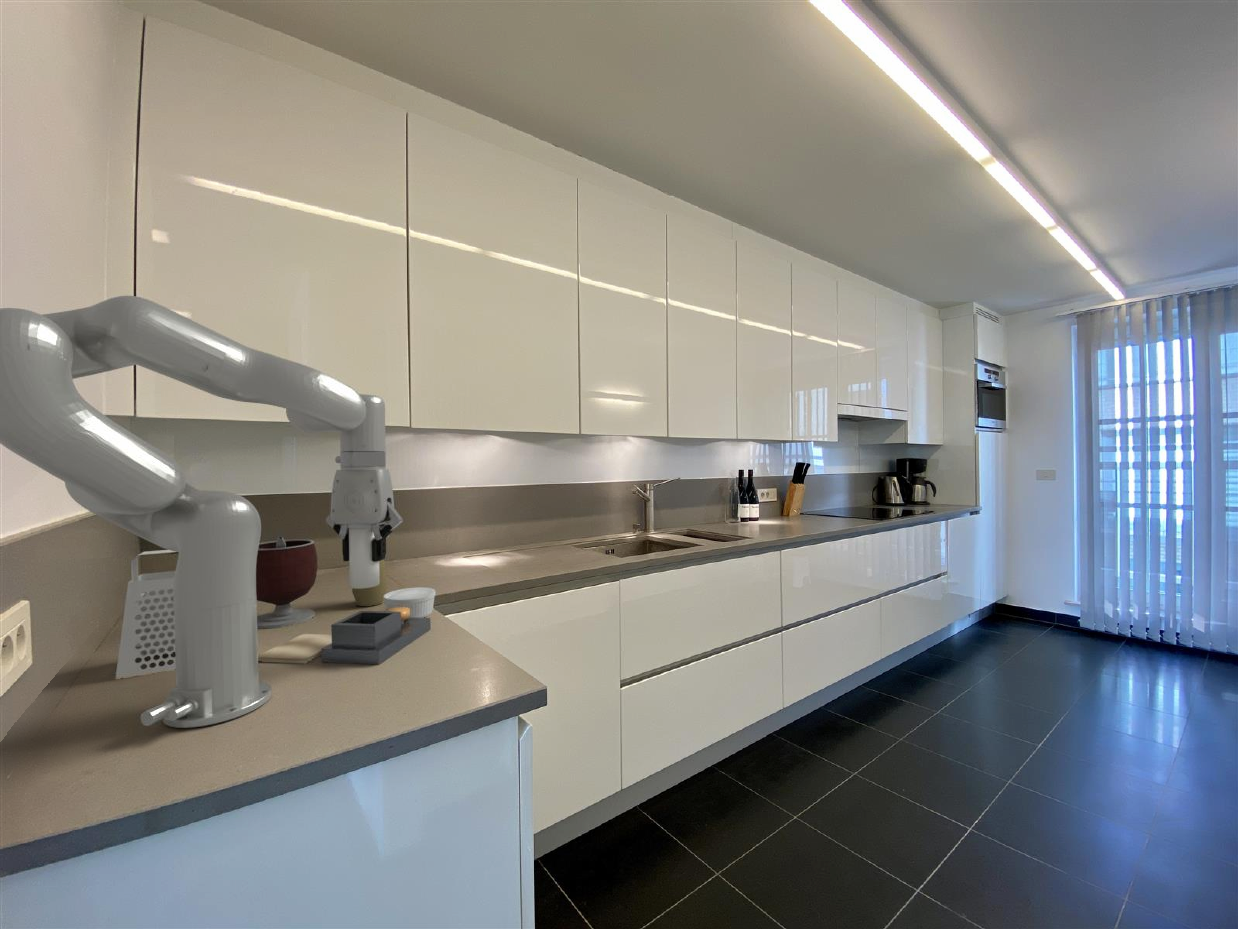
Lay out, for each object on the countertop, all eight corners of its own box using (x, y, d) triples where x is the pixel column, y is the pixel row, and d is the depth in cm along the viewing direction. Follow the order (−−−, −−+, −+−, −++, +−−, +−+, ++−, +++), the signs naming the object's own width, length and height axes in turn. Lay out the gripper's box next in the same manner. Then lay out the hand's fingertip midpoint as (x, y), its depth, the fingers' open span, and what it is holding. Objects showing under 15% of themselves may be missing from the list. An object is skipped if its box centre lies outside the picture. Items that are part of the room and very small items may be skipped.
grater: (195, 666, 91) (192, 553, 91) (115, 680, 86) (111, 560, 85) (207, 647, 100) (204, 544, 100) (135, 659, 95) (131, 550, 95)
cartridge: (369, 589, 93) (368, 522, 93) (341, 588, 94) (340, 522, 94) (386, 582, 98) (386, 519, 98) (360, 581, 99) (359, 518, 99)
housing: (379, 664, 91) (378, 628, 91) (321, 662, 92) (320, 626, 92) (430, 629, 109) (429, 599, 109) (381, 627, 110) (381, 597, 110)
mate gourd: (247, 617, 119) (245, 530, 119) (317, 607, 127) (315, 525, 126) (242, 636, 106) (239, 539, 106) (320, 623, 114) (318, 533, 113)
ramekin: (385, 611, 122) (385, 589, 122) (436, 606, 126) (435, 585, 126) (381, 626, 112) (380, 602, 112) (435, 620, 115) (435, 596, 115)
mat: (305, 663, 92) (305, 659, 92) (254, 661, 93) (254, 656, 93) (349, 639, 104) (349, 635, 104) (303, 637, 105) (303, 633, 105)
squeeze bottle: (348, 609, 124) (347, 534, 123) (356, 600, 132) (354, 530, 131) (385, 606, 126) (383, 533, 126) (390, 598, 134) (389, 528, 133)
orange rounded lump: (402, 635, 104) (401, 614, 104) (379, 634, 104) (379, 613, 104) (414, 627, 109) (414, 607, 108) (393, 626, 109) (392, 606, 109)
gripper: (306, 462, 93) (307, 563, 93) (395, 461, 91) (396, 565, 91) (334, 462, 101) (335, 555, 101) (417, 461, 98) (418, 557, 99)
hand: (364, 559), depth 96 cm, fingers closed on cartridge, 5 cm apart
